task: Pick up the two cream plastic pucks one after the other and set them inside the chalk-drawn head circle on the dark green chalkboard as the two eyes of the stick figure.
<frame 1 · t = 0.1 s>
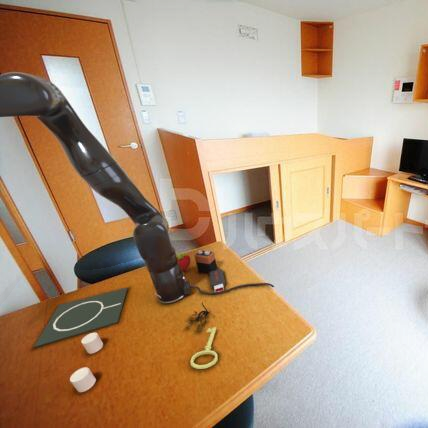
battery: (208, 270, 104), on the table
creature: (198, 323, 80), on the table
usb drive: (218, 282, 98), on the table
key: (208, 350, 71), on the table
chalkboard: (87, 314, 82), on the table
eye puck 1: (86, 384, 62), on the table
strawberry: (185, 271, 104), on the table
eye puck 2: (95, 348, 71), on the table
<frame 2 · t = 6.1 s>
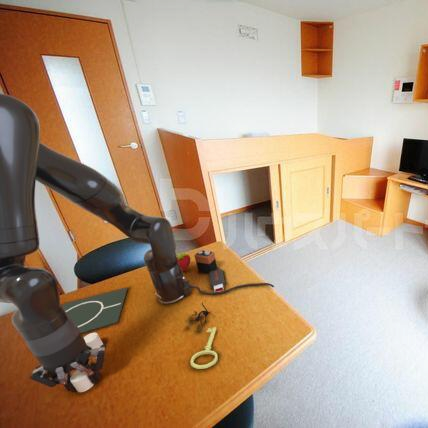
hand: (86, 383, 62), 0 cm above the table, tool pointing down, fingers closed on eye puck 1, 3 cm apart
eye puck 1: (86, 384, 62), on the table, touching gripper
everything else where it was.
when the fingers open (1 cm above the table, at t = 13.1 s): eye puck 1 stays where it is, resting on chalkboard.
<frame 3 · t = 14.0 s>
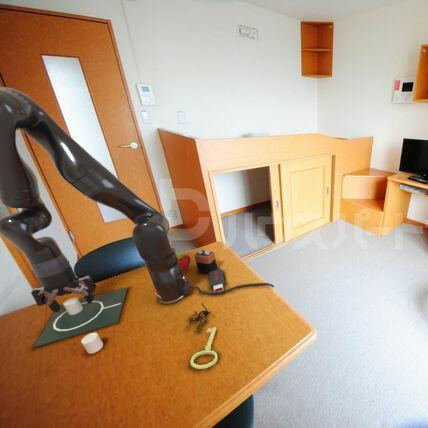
hand: (75, 306, 82), 3 cm above the table, tool pointing down, fingers open, 8 cm apart
eye puck 1: (76, 310, 83), point 1 cm above the table, touching chalkboard
everything else where it was.
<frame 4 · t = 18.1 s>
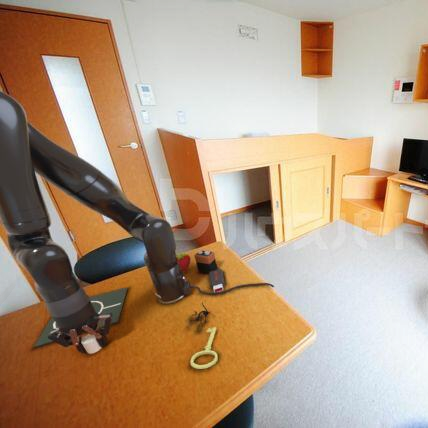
hand: (94, 347, 71), 0 cm above the table, tool pointing down, fingers closed on eye puck 2, 3 cm apart
eye puck 2: (95, 348, 71), on the table, touching gripper
everything else where it was.
when the fingers open (1 cm above the table, at t = 24.0 s): eye puck 2 stays where it is, resting on chalkboard.
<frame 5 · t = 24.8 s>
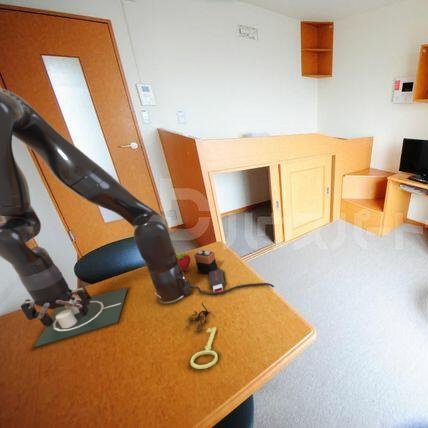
hand: (68, 319, 77), 2 cm above the table, tool pointing down, fingers open, 8 cm apart
eye puck 2: (69, 323, 78), point 1 cm above the table, touching chalkboard
everything else where it was.
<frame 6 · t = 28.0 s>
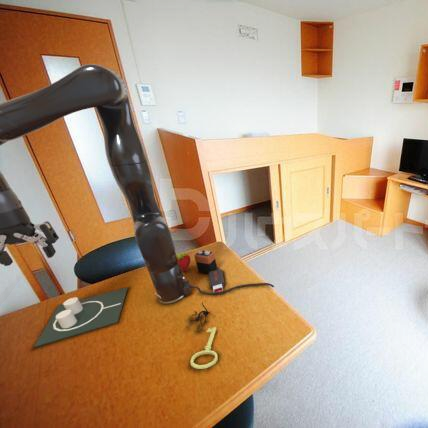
hand: (31, 260, 67), 26 cm above the table, tool pointing down, fingers open, 8 cm apart
nothing on the table moved.
at the end: eye puck 1 0.4 cm from the target spot on the chalkboard, point 0.6 cm above the chalkboard's base; eye puck 2 0.2 cm from the target spot on the chalkboard, point 0.6 cm above the chalkboard's base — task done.
